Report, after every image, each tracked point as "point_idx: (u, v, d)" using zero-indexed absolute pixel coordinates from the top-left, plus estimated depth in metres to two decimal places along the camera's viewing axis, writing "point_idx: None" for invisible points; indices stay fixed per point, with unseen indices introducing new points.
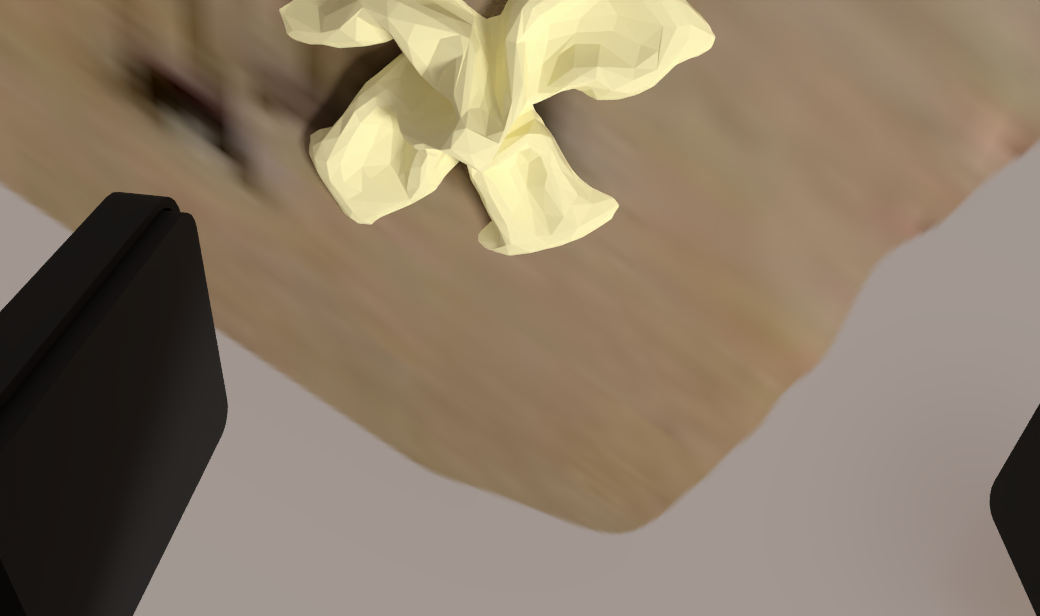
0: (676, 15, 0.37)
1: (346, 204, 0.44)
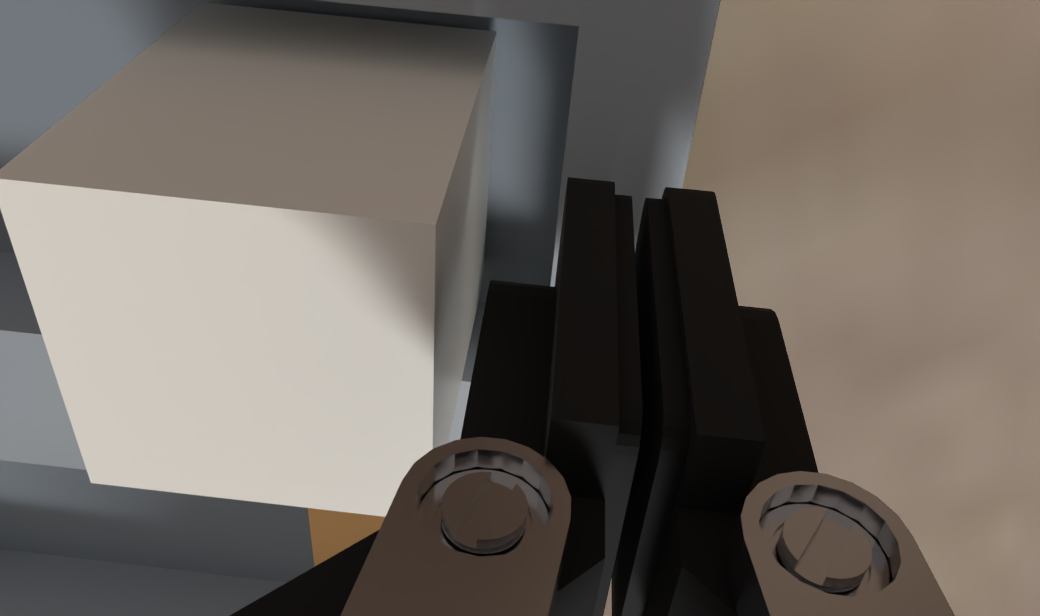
0: None
1: None
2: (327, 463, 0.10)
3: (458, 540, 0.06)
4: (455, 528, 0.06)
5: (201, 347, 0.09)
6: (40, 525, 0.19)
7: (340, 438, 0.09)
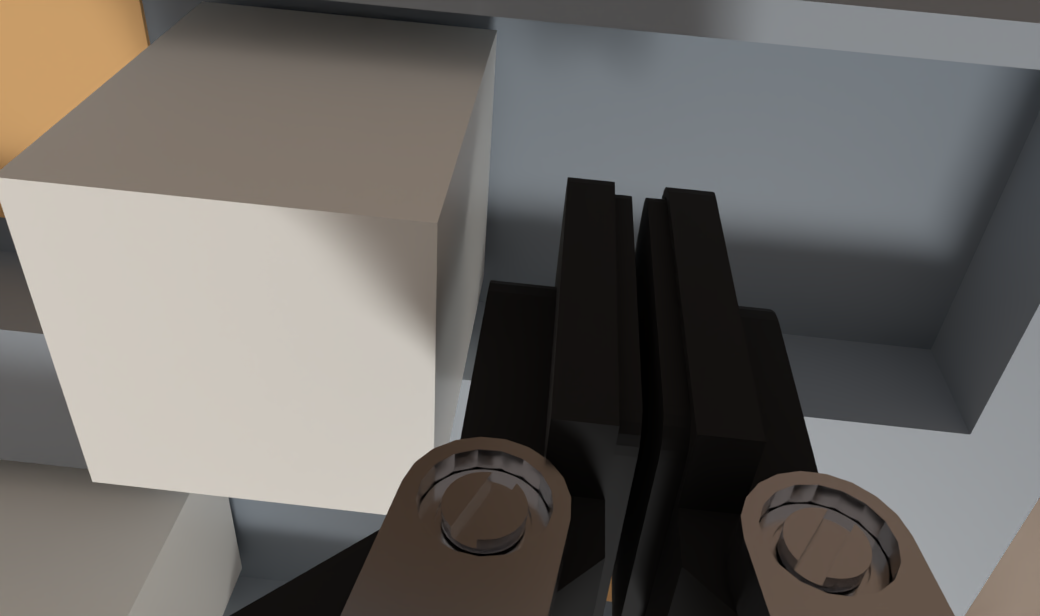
0: None
1: None
2: (329, 461, 0.10)
3: (457, 540, 0.06)
4: (454, 528, 0.06)
5: (203, 346, 0.09)
6: (326, 557, 0.19)
7: (342, 436, 0.09)
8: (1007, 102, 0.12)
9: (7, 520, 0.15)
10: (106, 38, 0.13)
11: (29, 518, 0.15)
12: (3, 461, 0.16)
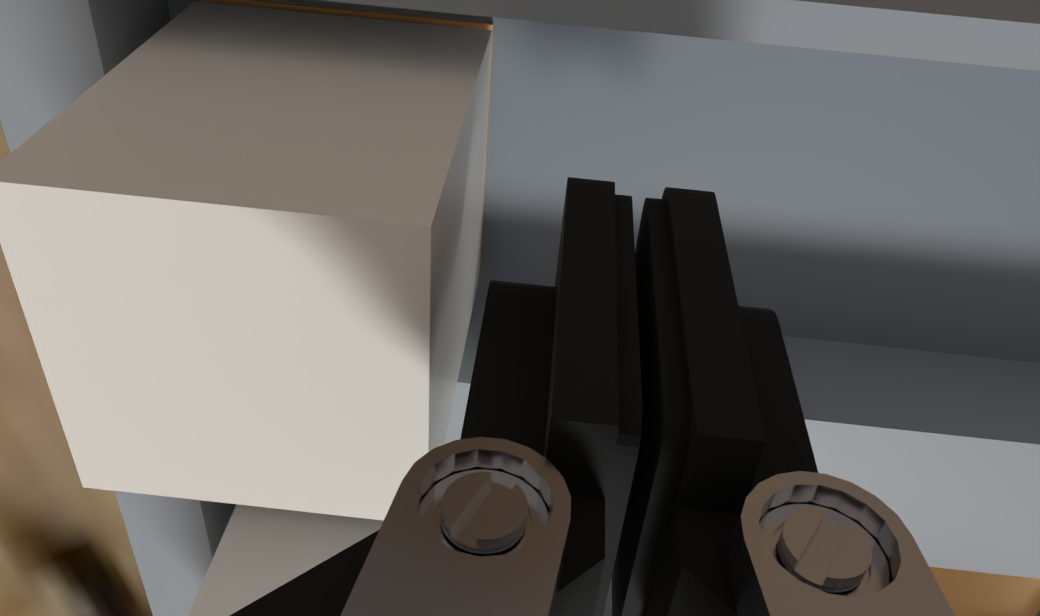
0: None
1: None
2: (322, 466, 0.10)
3: (458, 540, 0.06)
4: (455, 528, 0.06)
5: (195, 350, 0.09)
6: None
7: (335, 441, 0.09)
8: None
9: (287, 556, 0.15)
10: None
11: (307, 555, 0.15)
12: None
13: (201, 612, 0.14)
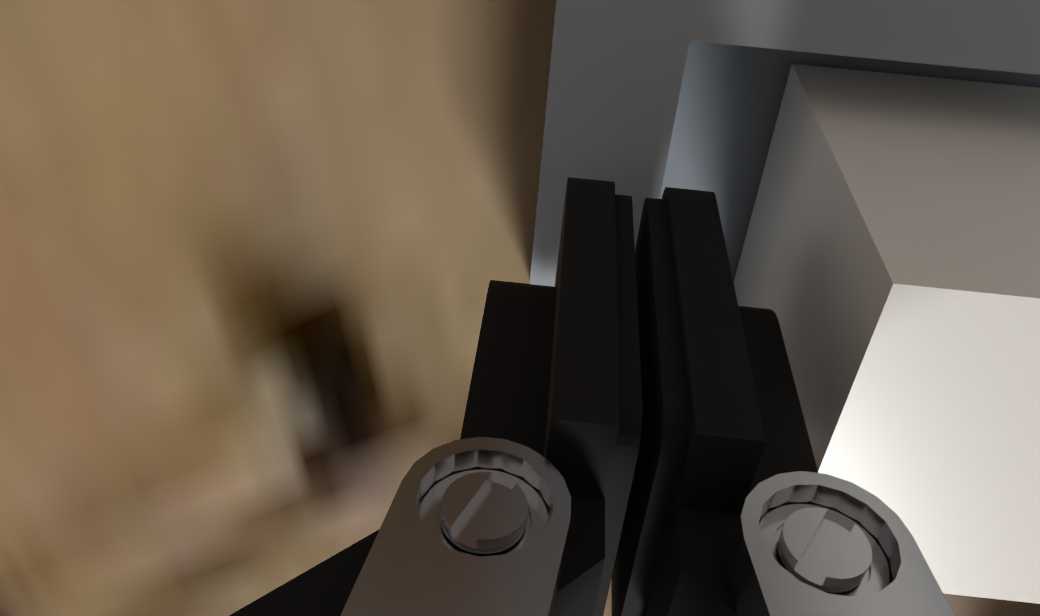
0: None
1: None
2: None
3: (458, 540, 0.06)
4: (455, 528, 0.06)
5: None
6: None
7: None
8: None
9: (941, 155, 0.09)
10: None
11: (971, 156, 0.09)
12: (842, 101, 0.10)
13: (873, 203, 0.09)
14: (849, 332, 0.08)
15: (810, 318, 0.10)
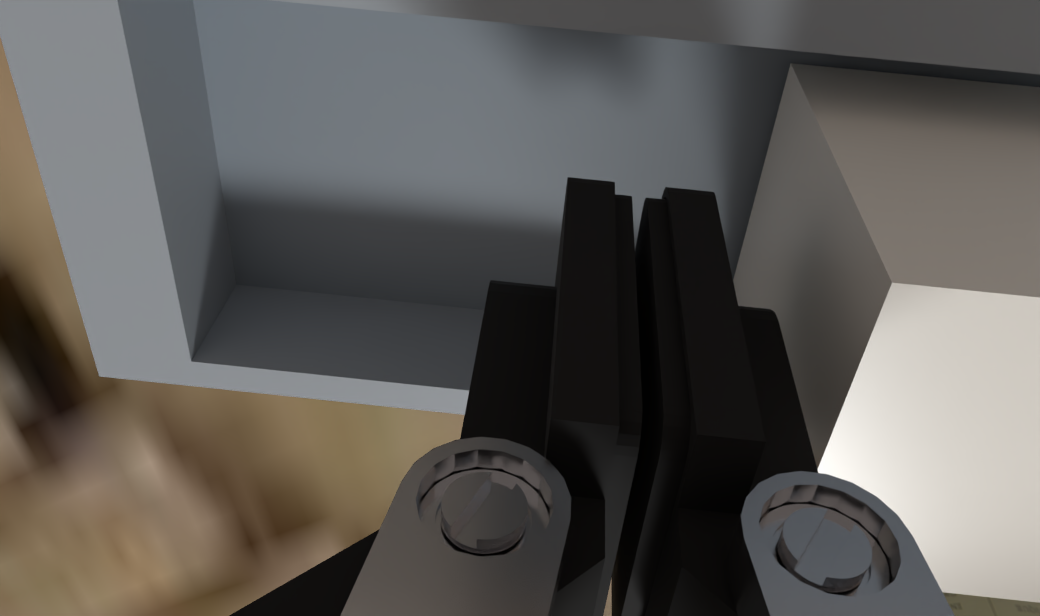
0: None
1: None
2: None
3: (458, 540, 0.06)
4: (455, 528, 0.06)
5: None
6: None
7: None
8: None
9: (939, 155, 0.09)
10: None
11: (969, 155, 0.10)
12: (840, 101, 0.10)
13: (872, 203, 0.09)
14: (848, 331, 0.08)
15: (808, 317, 0.10)
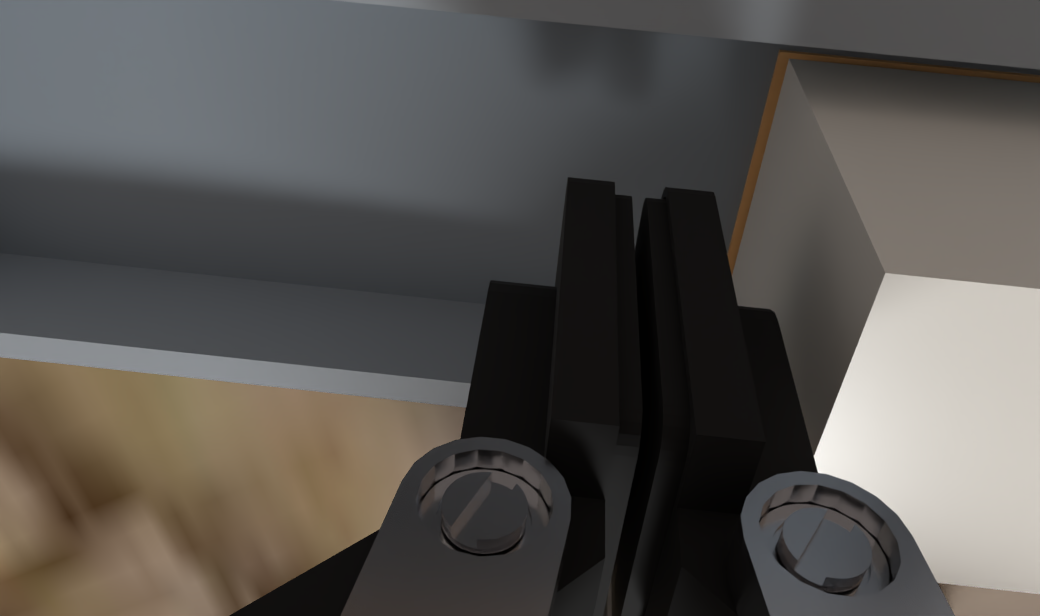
0: None
1: None
2: None
3: (458, 540, 0.06)
4: (455, 528, 0.06)
5: None
6: (337, 236, 0.14)
7: None
8: None
9: (935, 148, 0.10)
10: None
11: (965, 149, 0.10)
12: (838, 95, 0.11)
13: (867, 195, 0.09)
14: (843, 322, 0.08)
15: (805, 309, 0.10)
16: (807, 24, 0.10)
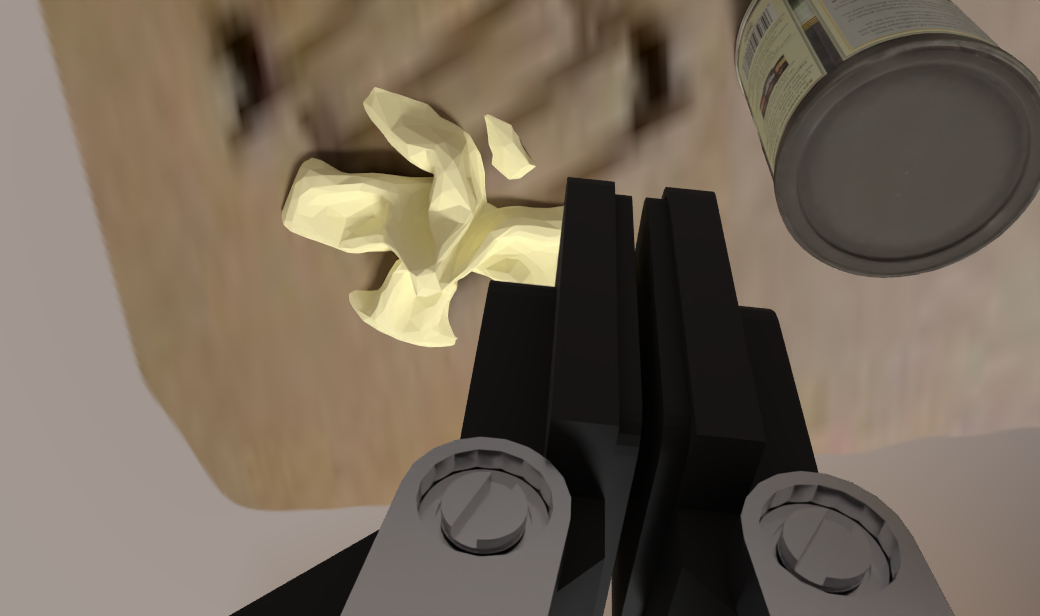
0: None
1: (293, 214, 0.53)
2: None
3: (458, 540, 0.06)
4: (455, 528, 0.06)
5: None
6: None
7: None
8: None
9: None
10: None
11: None
12: None
13: None
14: None
15: None
16: None
